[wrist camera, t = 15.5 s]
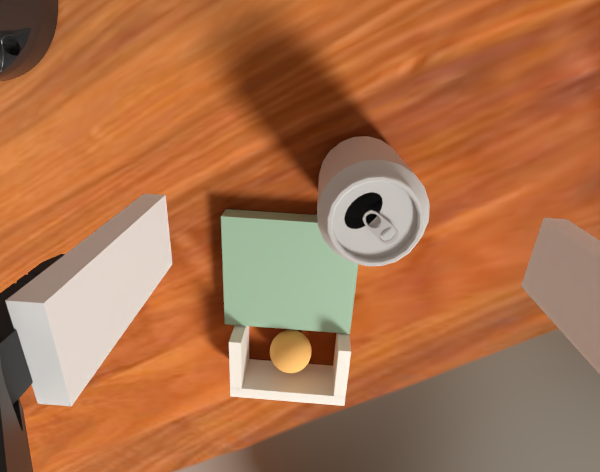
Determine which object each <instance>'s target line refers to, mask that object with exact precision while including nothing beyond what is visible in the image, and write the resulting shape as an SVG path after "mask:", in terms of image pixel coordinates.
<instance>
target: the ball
mask: <svg viewBox="0 0 600 472" xmlns="http://www.w3.org/2000/svg"><path fill="white" fill-rule="evenodd" d="M270 357H271V360H272V362H273V364H274V365H275V366H276V367H277V368H278V369H279V370H281V371H282V372H285V373H296V372H299V371H301V370H302V369H303V368H305V367H306V365H307V364H308V363H309V361H310V358H311V345H310V342H309V340H308V339H307V337H306V336H305V335H304V334H302V333H301V332H299V331H296V330H285V331H283V332H281V333H279V334H278V335H277V336H276V337H275V338H274V339H273V341H272V343H271V346H270Z"/></svg>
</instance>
